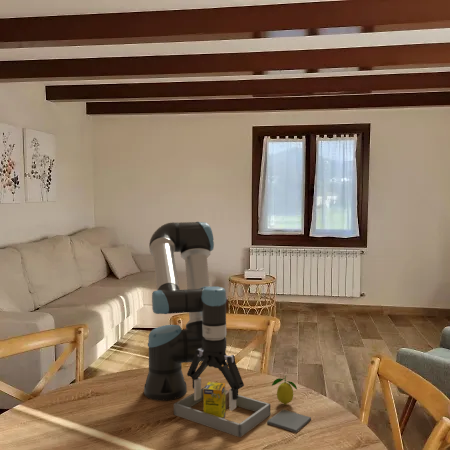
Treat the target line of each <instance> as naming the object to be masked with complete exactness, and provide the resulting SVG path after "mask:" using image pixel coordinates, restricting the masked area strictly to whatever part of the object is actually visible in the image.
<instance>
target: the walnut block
mask: <svg viewBox="0 0 450 450" xmlns="http://www.w3.org/2000/svg"><path fill="white" fill-rule="evenodd" d="M228 408H229V390H227V389H225V410H226V409H228Z"/></svg>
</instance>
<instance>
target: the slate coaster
mask: <svg viewBox="0 0 450 450" xmlns="http://www.w3.org/2000/svg"><path fill="white" fill-rule="evenodd" d="M311 420H312V417H311V416H308V415H304V414H301V413H297V412H294V411H290V410H286V409H281V410H279V412H277V413H276V414H274V415H273V416H272V417H271V418H270V419H268V420H266V421H267V422H266V423H267V425H271V426H273V427H277V428H279V429H284V430H286V431H289V432H294V433H298V432H299V431H300V430H301V429H303V427H305V426H306V425H307V424H308V423H309V422H310V421H311Z"/></svg>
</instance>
